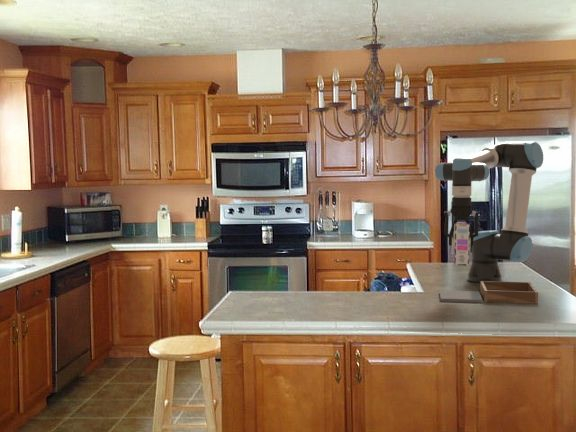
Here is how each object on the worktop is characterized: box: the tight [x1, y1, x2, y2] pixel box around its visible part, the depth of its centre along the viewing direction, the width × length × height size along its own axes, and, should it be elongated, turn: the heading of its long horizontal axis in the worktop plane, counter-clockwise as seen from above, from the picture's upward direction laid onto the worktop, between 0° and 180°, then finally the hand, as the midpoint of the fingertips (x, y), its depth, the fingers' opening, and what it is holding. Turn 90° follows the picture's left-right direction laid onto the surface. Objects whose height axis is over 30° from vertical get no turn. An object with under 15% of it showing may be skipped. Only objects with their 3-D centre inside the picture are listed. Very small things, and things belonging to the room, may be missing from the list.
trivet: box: [439, 289, 483, 304], centre depth 265 cm, size 16×16×1 cm
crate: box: [479, 281, 539, 304], centre depth 265 cm, size 20×20×4 cm
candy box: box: [452, 221, 471, 267], centre depth 263 cm, size 14×6×16 cm, turn 168°
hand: (460, 253), depth 264 cm, fingers closed on candy box, 6 cm apart
